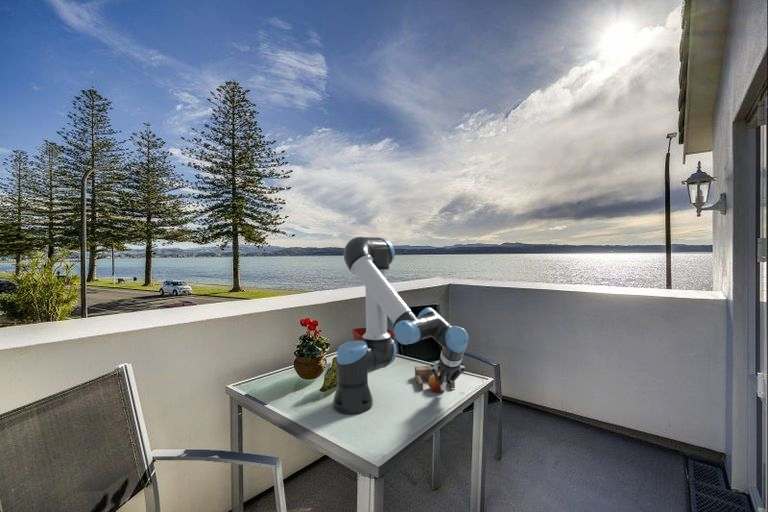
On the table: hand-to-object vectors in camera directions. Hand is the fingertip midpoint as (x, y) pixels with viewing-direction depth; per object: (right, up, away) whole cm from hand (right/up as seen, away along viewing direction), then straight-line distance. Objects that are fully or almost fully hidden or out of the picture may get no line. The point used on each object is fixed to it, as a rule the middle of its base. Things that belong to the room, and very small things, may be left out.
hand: (442, 386), depth 135 cm
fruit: (-1, -3, +5) cm, 6 cm away
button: (+3, -3, +18) cm, 19 cm away
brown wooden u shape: (-1, -3, +10) cm, 11 cm away
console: (-2, -3, +18) cm, 18 cm away
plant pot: (-30, -4, +44) cm, 53 cm away
